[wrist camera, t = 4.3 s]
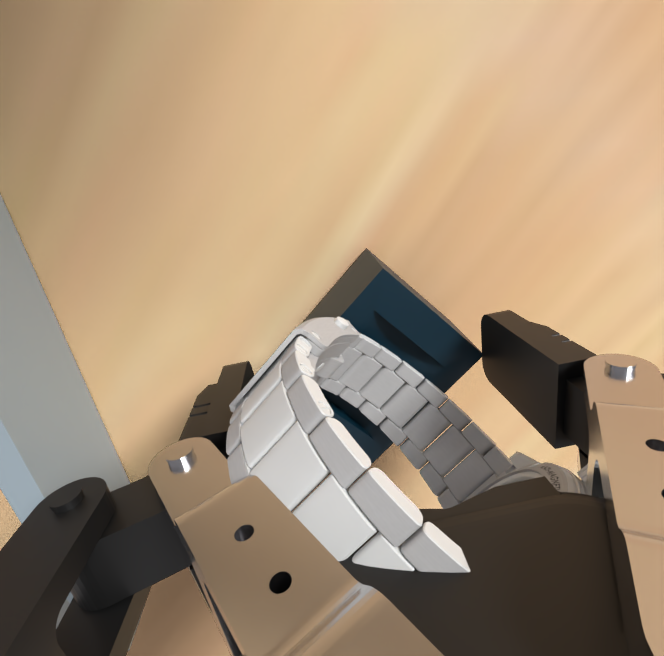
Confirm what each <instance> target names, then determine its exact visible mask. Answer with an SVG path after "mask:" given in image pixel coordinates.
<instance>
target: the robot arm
mask: <svg viewBox="0 0 664 656" xmlns="http://www.w3.org/2000/svg"><path fill="white" fill-rule="evenodd" d="M481 336H482V362H483V368H484V372H485V375H486V377H487V379H488V380H489V382H490V383H491V384H492V385H493V386H494V387H495V388H496V389H497V390H498V391H499V392H500V393H501V394H502V395H503V396H504V397H505V398H506V399H507V400H508V401H509V402H510V403H511V404H512V405H513V406H514V407H515V408H516V409H517V410H518V411H519V412H520V413H521V414H522V415H523V416H524V418H525V419H526V420H527V421H528V422H529V423H530V424H531V425H532V426H533V427H534V428H535V429H536V430H537V431H538V432H539V433H540V434H541V435H542V436H543V437H544V438H545V439H546V440H547V441H548V442H549V443H550V444H551V445H552V446H553V447H554V448H555V449H556V448H561V447H566V446H571V445H577V446H578V457H577V464H578V471H580V470H581V469H582V468H583V467H584V466H586V465H587V464H588V470H587V482H586V494H580V493H571V492H558V491H557V490H556V489H555V487H554V486H553V485H552V484H551V483H550V482H549V480H548V479H547V478H546V477H545V476H543V477H538V478H534V479H529V480H524V481H519V482H515V483H510V484H505V485H501V486H496V487H493V488H491V489H489V490H487V491H485V492H483V493H481V494H478V495H476V496H474V497H472V498H470V499H468V500H466V501H464V502H462V503H460V504H457V505H455V506H453V507H451V508H447V509H419V510H420V512H421V514H422V516H423V523H422V525H423V524H424V523H425V522H431V523H432V524H434V525H435V526H436V527H437V528H438V529H439V530H441V531H442V532H443V533H444V534H445V535H446V536H447V537H449V538H450V539H451V540H452V541H453V542H454V543H456V544H457V545H458V546H459V547H461V549H462V552H463V554H464V557H465V559H466V561H467V564H468V566H469V568H470V572H457V573H448V572H421V571H418V570H417V569H416V568H415V567H414V569H415V570H414V571H406V570H395V569H385V568H378V567H371V566H365V565H360V564H355V563H354V562H352V558H353V556H354V555H355V553H356V552H357V551H358V550H359V549H360V548H362V547H363V546H364V545H365V544H366V543H367V542H368V541H369V540H370V539H371V538H373V537H374V536H375V535H376V534H377V533H378V532H379V531H377V532H376V533H375V534H374V535H372V536H371V537H370V538H369V539H368V540H367V541H366V542H365V543H364V544H363V545H361V546H360V547H359V548H358V549H357V550H356V551H355V552H354V553H353V554H352V555H350V556H349V557H348V558H347V559H345V560H343V561H337V560H336V558H335V557H334V556H333V555H332V554H331V553H330V552H329V551H328V550H327V549H326V548H325V547H324V546H323V545H322V544H321V543H320V542H319V541H318V540H317V539H316V537H315V536H314V535H313V534H312V533H311V532H310V531H309V530H308V529H307V528H306V527H305V526H304V525H303V524H302V523H301V522H300V521H299V520H298V519H297V518H296V516H295V515H294V514H293V513H292V512H291V511H290V510H289V509H288V508H287V507H286V506H285V505H284V504H283V503H282V502H281V501H280V500H279V499H278V498H277V497H276V495H275V494H274V493H273V492H272V491H271V490H270V489H269V488H268V487H267V486H266V485H265V484H264V483H263V482H262V481H261V480H260V479H259V478H258V477H257V476H255V475H248V476H245V477H243V478H241V479H240V480H238V481H236V482H235V483H233V484H231V480H230V476H229V469H228V462H227V461H228V457H229V455H227V453H226V439H227V432H228V428H229V426H230V425H231V424H230V419H231V416H232V414H233V412H231V410H230V407H229V405H230V404H231V402H232V401H233V400H234V399H235V398H236V397H237V395H238V394H239V393H240V392H241V391H242V390H243V388H244V387H245V386H246V385H247V384H248V383H249V381H250V380H251V379H252V378H253V377H254V374H253V370H252V367H251V364H250V362H249V361H247V362H242V363H237V364H232V365H227V366H224V367H223V369H222V372H221V375H220V377H219V380H218V383H217V384H213V385H208V386H207V387H206V388H205V389H204V390H203V391H202V392H201V393H200V394H199V395H198V396H197V399H196V401H195V403H194V406H193V408H192V411H191V413H190V417H189V418H188V420H187V423H186V425H185V427H184V430H183V432H182V435H181V437H180V439H179V441H178V442H176V443H173V444H171V445H170V446H168V447H166V448H165V449H163V450H162V451H160V452H159V453H158V454H157V455H156V456H155V457H154V458H153V459H152V461H151V462H150V464H149V467H148V474H149V475H148V476H146V477H145V478H142V479H140V480H138V481H136V482H133V483H131V484H128V485H126V486H123V487H121V488H118V489H116V490H114V491H111V492H110V490H109V488H108V486H107V484H106V482H105V481H104V480H103V479H102V478H98V477H88V478H83V479H79V480H76V481H73V482H71V483H69V484H67V485H65V486H63V487H61V488H59V489H57V490H56V491H54V492H53V493H51V494H50V495H48V496H47V497H46V498H45V499H43V500H42V501H41V502H40V503H39V504H38V505H37V506H36V507H35V508H34V510H33V511H32V512H31V513H30V515H29V516H28V517H27V518H26V520H25V521H24V522H23V523H22V525H21V526H20V527H19V528H18V530H17V531H16V532H15V533H14V534H13V536H12V537H11V538H10V539H9V541H8V542H7V543H6V544H5V546H4V547H3V548H2V549H1V551H0V656H126V654H127V652H128V649H129V646H130V643H131V641H132V638H133V635H134V632H135V630H136V627H137V624H138V622H139V619H140V616H141V613H142V611H143V608H144V605H145V602H146V600H147V597H148V594H149V592H150V588H151V585H153V584H155V583H157V582H159V581H161V580H163V579H165V578H167V577H169V576H171V575H173V574H175V573H177V572H179V571H181V570H183V569H185V568H187V567H188V568H189V570H190V572H191V574H192V576H193V578H194V580H195V582H196V585H197V587H198V589H199V591H200V593H201V595H202V597H203V599H204V601H205V603H206V605H207V607H208V609H209V611H210V613H211V615H212V617H213V619H214V621H215V623H216V625H217V627H218V629H219V631H220V633H221V635H222V637H223V640H224V642H225V644H226V646H227V648H228V651H229V653H230V655H231V656H664V374H661V373H660V371H659V369H658V368H657V367H656V366H655V365H654V364H652V363H651V362H649V361H647V360H644V359H642V358H638V357H635V356H630V355H623V354H602V355H596V354H594V353H592V352H590V351H589V350H587V349H585V348H584V347H582V346H580V345H578V344H577V343H575V342H573V341H570V340H569V339H568V338H566V337H565V336H563V335H560V334H559V333H558V332H556V331H554V330H552V329H551V328H549V327H547V326H544V325H540V324H536V323H533V322H529V321H527V320H525V319H524V318H522V317H520V316H519V315H517V314H516V313H514V312H512V311H510V310H507V311H502V312H497V313H492V314H487V315H484V316H483V317H482V320H481ZM579 479H580V480H581V481H582V479H581V478H580V476H579ZM70 592H71V593H72V595H73V599H72V601H71V603H70V605H69V606H68V608H67V610H66V612H65V614H64V616H63V617H62V619H61V621H60V623H59V625H58V627H57V629H56V624H57V619H58V615H59V613H60V610H61V608H62V606H63V604H64V602H65V601H66V599H67V597H68V595H69V593H70Z"/></svg>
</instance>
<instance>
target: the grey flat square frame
mask: <svg viewBox="0 0 664 656" xmlns="http://www.w3.org/2000/svg"><path fill="white" fill-rule="evenodd" d="M88 477H98V478H102V479H103V480H104V481H105V482H106V484H107V486H108V488H109V490H110V492H111V491H114V490H116V489H118V488H121V487H123V486H126V485H128V484H130V481H129V479H128V477H127V475H126V472H125V470H124V468H123V466H122V464H121V461H120V459H119V457H118V455H117V452H116V450H115V448H114V446H113V444H112V441H111V439H110V437H109V435H108V432H107V430H106V428H105V426H104V423H103V421H102V419H101V417H100V415H99V412H98V410H97V408H96V406H95V403H94V401H93V399H92V397H91V394H90V392H89V390H88V388H87V386H86V383H85V381H84V379H83V377H82V374H81V372H80V370H79V368H78V366H77V363H76V361H75V359H74V357H73V354H72V352H71V350H70V348H69V345H68V343H67V341H66V339H65V337H64V334H63V332H62V330H61V328H60V325H59V323H58V321H57V319H56V317H55V314H54V312H53V310H52V308H51V305H50V303H49V301H48V299H47V296H46V294H45V292H44V290H43V288H42V285H41V283H40V281H39V279H38V276H37V274H36V272H35V270H34V267H33V265H32V263H31V261H30V259H29V256H28V254H27V252H26V250H25V247H24V245H23V243H22V241H21V239H20V236H19V234H18V232H17V230H16V227H15V225H14V223H13V221H12V218H11V216H10V214H9V212H8V210H7V207H6V205H5V203H4V201H3V198H2V196H1V194H0V489H1V490H2V492H3V494H4V495H5V497H6V499H7V500H8V502H9V504H10V505H11V507H12V509H13V510H14V512H15V514H16V515H17V517H18V519H19V520H20V522H21V524H22V523H23V522H24V521H25V520H26V518H27V517H28V516H29V515H30V513H31V512H32V511H33V510H34V508H35V507H36V506H37V505H38V504H39V503H40V502H41V501H42V500H43V499H45V498H46V497H47V496H48V495H50V494H51V493H53V492H54V491H56V490H57V489H59V488H61V487H63V486H65V485H67V484H69V483H71V482H73V481H76V480H79V479H83V478H88ZM72 599H73V595H72V593H71V592H70V593H69V595H68V597H67V599H66V601H65V602H64V604H63V606H62V608H61V610H60V613H59V615H58V619H57V624H56V629H57V627H58V625H59V623H60V621H61V619H62V617H63V616H64V614H65V612H66V610H67V608H68V606H69V605H70V603H71V601H72ZM145 603H146V602H145ZM144 606H145V605H144ZM143 609H144V608H143ZM142 612H143V611H142ZM141 615H142V613H141ZM140 618H141V616H140ZM139 621H140V619H139ZM138 624H139V622H138ZM138 624H137V626H138ZM136 629H137V627H136ZM135 632H136V630H135ZM135 632H134V635H135ZM134 635H133V638H134ZM133 638H132V641H133ZM132 641H131V643H130V646H129V649H128V651H129V650H130V647H131V644H132Z"/></svg>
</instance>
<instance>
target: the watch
mask: <svg viewBox="0 0 664 656" xmlns="http://www.w3.org/2000/svg"><path fill="white" fill-rule="evenodd" d="M481 357H482V352H481V351H480V350H479V349H478V348H477V347H476V346H475V345H474V344H473V343H472V342H471V341H470V340H469V339H468V338H467V337H466V336H465V335H464V334H463V333H462V332H461V331H460V330H459V329H458V328H457V327H456V326H455V325H454V324H453V323H452V322H451V321H450V320H449V319H447V318H446V317H445V316H444V315H443V314H442V313H441V312H439V311H438V310H437V309H436V308H435V307H434V306H432V305H431V304H430V303H429V302H428V301H427V300H426V299H424V298H423V297H422V296H421V295H420V294H419V293H417V292H416V291H415V290H414V289H413V288H412V287H411V286H409V285H408V284H407V283H406V282H405V281H404V280H402V279H401V278H400V277H399V276H398V275H397V274H396V273H394V272H393V271H392V270H391V269H390V268H389V267H387V266H386V265H385V264H384V263H383V262H382V261H381V260H379V259H378V258H377V257H376V256H375V255H374V254H372V253H371V252H370V251H369V250H368V249H367V248H366V249H365V250H364V252H363V253H362V254H361V255H360V256H359V257H358V259H357V260H356V261H355V262H354V263H353V264H352V266H351V267H350V268H349V269H348V270H347V271H346V273H345V274H344V275H343V276H342V277H341V278H340V280H339V281H338V282H337V283H336V284H335V285H334V287H333V288H332V289H331V290H330V291H329V292H328V294H327V295H326V296H325V297H324V298H323V299H322V301H321V302H320V303H319V304H318V305H317V306H316V308H315V309H314V310H313V311H312V312H311V313H310V315H309V316H308V317H307V318H306V319H305V320H304V322H303V323H301V324H300V325H299V326H297V327H296V328H295V329H294V330H293V331H292V332H291V333H290V335H289V336H288V337H287V338H286V339H285V340H284V342H283V343H282V344H281V345H280V346H279V347H278V349H277V350H276V351H275V352H274V353H273V354H272V356H271V357H270V358H269V359H268V360H267V362H266V363H265V364H264V365H263V366H262V367H261V368H260V370H259V371H258V372H257V373H256V374H255V375H254V377H253V378H252V379H251V380H250V381H249V383H248V384H247V385H246V386H245V387H244V388H243V390H242V391H241V392H240V393H239V394H238V395H237V397H236V398H235V399H234V400H233V401H232V402H231V404H230V405H229V407H230V410H231V412H233V414H232V416H231V419H230V424H231V425H230V426H229V428H228V432H227V439H226V453H227V455H229V457H228V461H227V462H228V469H229V476H230V480H231V484H233V483H235V482H236V481H238V480H240V479H241V478H243V477H245V476H248V475H255V476H257V477H258V478H259V479H260V480H261V481H262V482H263V483H264V484H265V485H266V486H267V487H268V488H269V489H270V490H271V491H272V492H273V493H274V494H275V495H276V497H277V498H278V499H279V500H280V501H281V502H282V503H283V504H284V505H285V506H286V507H287V508H288V509H289V510H290V511H291V512H292V511H293V510H294V509H295V508H296V507H297V506H298V505H299V504H300V503H301V502H302V501H303V500H304V499H305V498H306V497H307V496H308V495H309V494H310V493H311V492H312V491H313V490H314V489H315V488H316V487H317V486H318V485H319V484H320V483H321V482H322V481H323V480H324V479H325V478H326V477H327V476H328V475H329V474H330V473H331V474H330V475H329V476H328V477H327V478H326V479H325V480H324V481H323V482H322V483H321V484H320V485H319V486H318V487H317V488H316V489H315V490H314V491H313V492H312V493H311V494H310V495H309V496H308V497H307V498H306V499H305V500H304V501H303V502H302V503H301V504H300V505H299V506H298V507H297V508H296V509H295V510H294V511H293V512H292V513H293V514H294V515H295V516H296V518H297V519H298V520H299V521H300V522H301V523H302V524H303V525H304V526H305V527H306V528H307V529H308V530H309V531H310V532H311V533H312V534H313V535H314V536H315V537H316V539H317V540H318V541H319V542H320V543H321V544H322V545H323V546H324V547H325V548H326V549H327V550H328V551H329V552H330V553H331V554H332V555H333V556H334V557H335V558H336V560H337V561H343V560H345V559H347V558H348V557H349V556H350V555H352V554H353V553H354V552H355V551H356V550H357V549H358V548H359V547H360V546H361V545H363V544H364V543H365V542H366V541H367V540H368V539H369V538H370V537H371V536H372V535H374V534H375V533H376V532H377V531H379V532H378V533H377V534H376V535H375V536H374V537H373V538H371V539H370V540H369V541H368V542H367V543H366V544H365V545H364V546H363V547H362V548H360V549H359V550H358V551H357V552H356V553H355V555H354V556H353V558H352V562H354V563H355V564H360V565H365V566H371V567H378V568H385V569H395V570H406V571H414V570H415V569H414V567H415V568H416V569H417V570H418V571H421V572H448V573H457V572H470V568H469V566H468V564H467V561H466V559H465V557H464V554H463V552H462V549H461V547H459V546H458V545H457V544H456V543H454V542H453V541H452V540H451V539H450V538H449V537H447V536H446V535H445V534H444V533H443V532H442V531H441V530H439V529H438V528H437V527H436V526H435V525H434V524H432V523H431V522H425V523H424V524H423V525H422V523H423V516H422V514H421V512H420V510H419V509H418V508H417V506H416V505H415V504H414V503H413V502H412V501H411V500H410V499H409V498H408V497H407V496H406V495H405V494H404V493H403V492H402V491H401V490H400V489H399V488H398V487H397V486H396V485H395V484H394V483H393V482H392V481H391V480H390V479H389V478H388V477H387V475H386V474H385V473H384V472H383V471H381V470H380V469H378V468H371V469H369V470H368V471H367V472H366V473H365V474H364V475H363V476H361V475H362V474H363V473H364V472H365V471H366V470H367V469H368V468H369V467H370V466H371V464H372V463H373V462H374V461H375V460H376V459H377V458H378V457H379V456H380V455H381V454H382V453H383V452H384V451H385V450H387V449H388V448H389V447H390V446H391V445H392V444H393V443H394V444H395V445H397V446H399V445H400V444H401V443H402V442H403V441H404V440H405V439H406V438H407V437H408V439H407V440H406V441H405V442H404V443H403V444H402V445H401V446H400V449H401V451H402V452H403V453H404V455H405V456H406V457H407V458H408V459H409V461H410V462H411V463H412V464H413V466H414V467H415V468H416V469H420V468H422V467H423V466H424V465H425V464H426V463H427V462H428V461H429V463H427V464H426V465H425V466H424V467H423V468H422V469H421V470H420V474H421V476H422V477H423V479H424V480H425V481H426V483H427V484H428V486H429V487H430V489H431V490H432V492H433V493H434V494H435V495H436V496H439V497H438V501H439V503H440V504H441V506H442V508H443V509H447V508H451V507H453V506H455V505H457V504H460V503H462V502H464V501H466V500H468V499H470V498H472V497H474V496H476V495H478V494H481V493H483V492H485V491H487V490H489V489H491V488H493V487H496V486H501V485H505V484H510V483H515V482H519V481H524V480H529V479H534V478H538V477H543V476H545V477H546V478H547V479H548V480H549V482H550V483H551V484H552V485H553V486H554V487H555V489H556V490H557V491H558V492H571V493H580V494H586V482H587V470H588V464H587V465H586V466H584V467H583V468H582V469H581V470H580V471H578V472H577V473H578V475H579V476H580V478H581V479H582V481H581V480H580V479H579V478H578V477H576V476H575V475H574V474H573V473H572V472H570V471H569V470H567V469H565V468H563V467H560V466H558V465H555V464H552V463H539V462H537V461H535V460H534V459H532V458H530V457H528V456H526V455H524V454H522V453H520V452H516V453H515V454H514V455H512V456H511V457H510V459H509V458H508V457H507V456H506V455H505V454H504V453H503V452H502V451H501V450H500V449H499V448H498V447H497V446H496V444H495V443H494V442H493V441H492V440H491V439H490V438H489V437H488V436H487V435H486V434H485V433H484V432H483V431H482V430H481V429H480V428H479V427H478V426H477V425H476V424H475V423H474V422H472V423H471V424H470V425H469V426H467V425H468V424H469V423H470V422H471V421H472V419H471V418H470V417H469V416H468V415H467V414H466V413H465V412H464V411H462V410H461V409H460V408H459V407H458V406H457V405H456V404H455V403H454V402H453V401H451V400H450V399H448V396H447V395H446V394H444V393H445V392H446V391H447V390H448V389H449V388H450V387H451V386H452V385H453V384H454V383H455V382H456V381H458V380H459V379H460V378H461V377H462V376H463V375H464V374H465V373H466V372H467V371H468V370H469V369H470V368H471V367H472V366H473V365H474V364H475V363H476V362H477V361H478V360H479V359H480V358H481ZM447 399H448V400H447ZM446 400H447V401H446ZM445 401H446V402H445ZM444 402H445V403H444ZM443 403H444V404H443ZM442 404H443V405H442ZM441 405H442V406H441ZM439 406H441V407H440V408H438V407H439ZM451 424H453V425H452V426H451V427H449V426H450V425H451ZM466 426H467V427H466ZM447 427H449V428H448V429H447V430H446V431H445V432H444V433H443V434H442V435H441V436H440V437H439V438H438V439H437V440H436V441H435V442H433V441H434V440H435V439H436V438H437V437H438V436H439V435H440V434H441V433H442V432H443V431H444V430H445V429H446V428H447ZM465 427H466V428H465ZM464 428H465V429H464ZM462 429H464V430H463V431H461V430H462ZM432 442H433V443H432ZM430 443H432V444H431V445H430V446H429V447H428V448H427V449H426V450H425V451H423V450H424V449H425V448H426V447H427V446H428V445H429V444H430ZM474 449H475V450H474ZM473 450H474V451H473ZM472 451H473V452H472ZM471 452H472V453H471ZM470 453H471V454H470ZM469 454H470V455H469ZM468 455H469V456H468ZM466 456H467V457H466ZM465 457H466V458H465ZM464 458H465V459H464ZM463 459H464V460H463ZM462 460H463V461H462ZM461 461H462V462H461ZM460 462H461V463H460ZM459 463H460V464H459ZM458 464H459V465H458ZM456 465H458V466H456ZM455 466H456V467H455ZM454 467H455V468H454ZM453 468H454V469H453ZM452 469H453V470H452ZM451 470H452V471H451ZM450 471H451V472H450ZM449 472H450V473H449ZM448 473H449V474H448ZM446 474H448V475H446ZM445 475H446V476H445ZM360 476H361V477H360ZM444 476H445V477H444ZM359 477H360V478H359ZM358 478H359V479H358ZM357 479H358V480H357ZM356 480H357V481H356ZM355 481H356V482H355ZM354 482H355V483H354ZM353 483H354V484H353ZM352 484H353V485H352Z"/></svg>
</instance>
